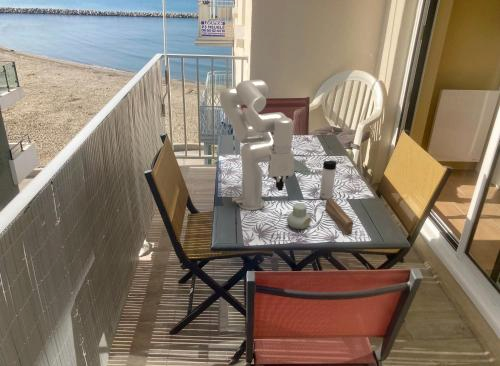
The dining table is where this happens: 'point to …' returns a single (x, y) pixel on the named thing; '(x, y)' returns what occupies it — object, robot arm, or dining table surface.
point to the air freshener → (299, 216)
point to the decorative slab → (301, 168)
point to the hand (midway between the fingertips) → (279, 189)
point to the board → (339, 216)
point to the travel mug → (327, 179)
